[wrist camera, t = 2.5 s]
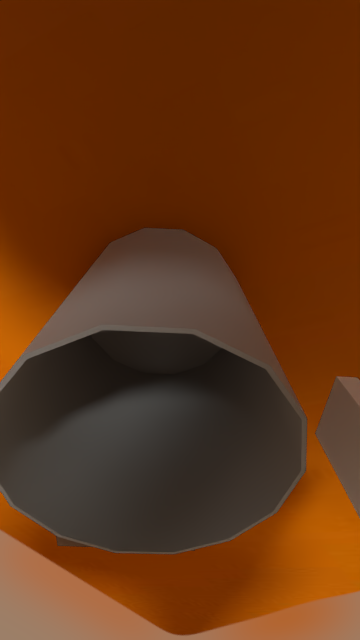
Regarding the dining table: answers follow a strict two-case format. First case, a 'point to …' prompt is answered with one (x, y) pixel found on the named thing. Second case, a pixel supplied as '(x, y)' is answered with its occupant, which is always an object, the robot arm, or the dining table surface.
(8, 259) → the dining table surface
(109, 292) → the cup
